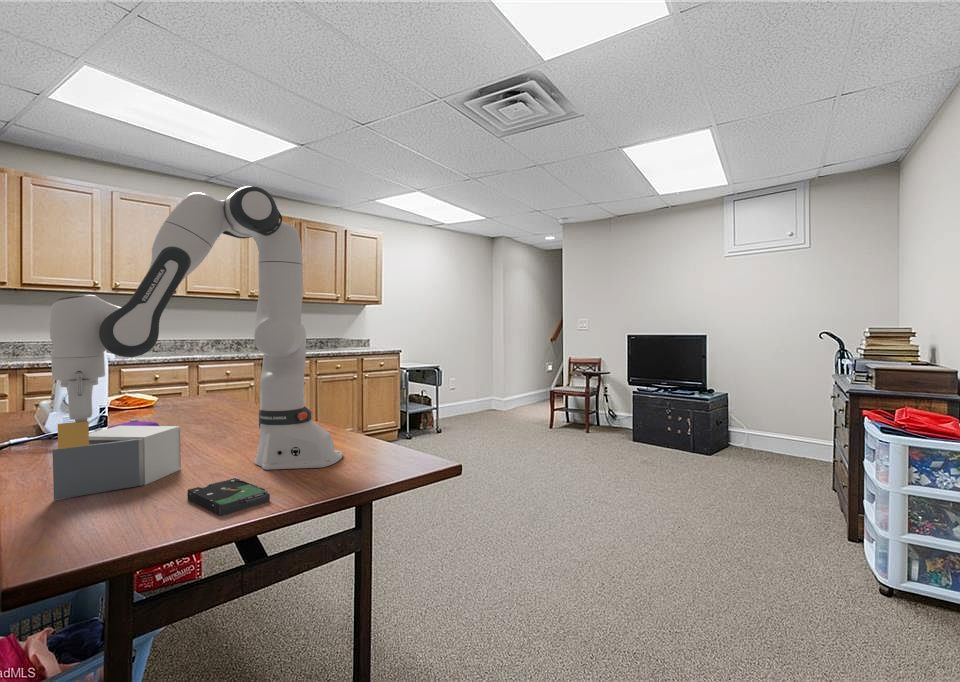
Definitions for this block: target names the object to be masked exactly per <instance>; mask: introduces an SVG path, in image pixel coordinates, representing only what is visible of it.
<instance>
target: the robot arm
mask: <svg viewBox="0 0 960 682" xmlns="http://www.w3.org/2000/svg"><path fill="white" fill-rule="evenodd" d="M222 234H223V235H226V236H230V237H234V238H237V239H250V238H252V239H253V240H254V242H255V243H256V247H257V251H258V261H257V262H258V265H257V266H258V299H257V306H256V314H255V326H254V327H255V328H254V334H253V335H254V336H253V337H254V338H253V339H254V344H255V346H256V347H257V349H258V350H259V351H260V352H261V353H263V357H262V359H263V360H262V368H261V375H260V377H259V378H260V379H259V383H260V384H259V389H260V390H259V392H260V393H259V394H260V397H259V398H260V408H259V409H258V428H259V437H258V438H259V440H258V446H257V452H256V456H255V459H254V464H255V465H257V466H259V467H261V468H262V470H285V469H286V470H287V469H288V470H289V469H293V470H294V469H313V468H314V469H315V468H326V467H328V466H332V465H334V464H336V463H337V462H339V461H340V460H341V459H342V458H343V451H341V450H339V449H338V450H337V449H335V443H334V439H333V436H332V434H331V433H330V432H329V431H327V430H325V428H323V427H321V426H320V425H318V423H316V422H314V421H313V420H312V414H314V409H309V408H308V407H307V406H305V370H306V356H307V355H306V354H307V351H306V350H307V331H306V328H305V327H304V325H303V323H302V308H303V297H304V268H303V267H304V263H303V249H302V243H301V238H300V232H298V229H297V228H296V227H295V226H293V225H291V224H290V223H287V222H283V216H282V215H281V212H280V211H279V208H278V205H277V203H276V201H275V200H274V198H273V196H272V195H271V194H270V193H269V192H268V191H267V190H265V189H264V188H262V187H259V186H255V185H247V186H242V187H240V188H238V189H236V190H235V191H233V192H232V193H231V194H230V195H228V196H227V198H226V199H224V200H221V199H220V200H219V199H216V198H214V197H213V196H211V195H209V194H207V193H202V192H192V193H189V194H187V196H185V197H184V198H183V199H182V200H181V201H180V202H179V203H178V204H177V205H176V206H175V207H174V209H172V211H171V212H170V213H169V215H168V216H167V218H166V219H165V221H164V222H163V223H162V225H161V226H160V229H159V230H158V232H157V234H156V236H155V239H154V241H153V244H152V247H151V261H150V265H149V268H148V270H147V272H146V274H145V275H144V277H143V278H142V280H141V282H140V283H139V285H138V287H137V288H136V290H135V291H134V293H133V294H132V296H131V298H130V299H129V300H128V301H127V302H126V303H125V304H124V305H123V306H118V305H115V304H113V303H111V302H108V301H105V300H104V299H102V298H100V297H98V296H97V295H96V294H89V293H88V294H78V295H69V296H64V297H61V298H59V299H57V300H55V301H54V303H52V305H51V307H50V313H49V336H50V340H51V343H52V351H51V355H50V359H51V361H50V362H51V379H52V380H53V381H59V383H60V388H66V392H67V396H68V397H67V398H68V399H67V401H68V402H67V403H68V417H69V419H70V420H74V422H83V421H88V419H89V418H91V417H93V398H92V397H93V391H94V390H93V389H94V388H93V387H94V386H96V385H99V378H104V377H105V376H106V369H105V365H106V364H105V353H106V351H108V352H110V353H111V354H114V355H116V356H118V357H122V358H134V357H135V358H136V357H139V356H143V355H145V354H147V353H149V352H150V351H151V350H152V349H153V348H154V347H155V345H156V343H157V342H158V339H159V336H160V335H159V333H160V331H159V330H160V320H161V316H162V314H163V313H164V310H165V309H166V307H167V306H168V304H169V302H170V300H171V299H172V298H173V296H174V294H175V292H176V291H177V289H178V287H179V285H180V284H181V283H182V282H183V281H184V279H186V278H187V277H188V276H189V275H190V274H191V273H192V272H194V271H195V270H196V269H197V268H198V267H199V266H200V264H201V263H202V262H203V261H204V260H205V259H206V257H208V255H209V253H210V251H211V249H212V248H213V247H214V245H215V243H216V241H217V240H218V239H219V237H220V236H221V235H222Z"/></svg>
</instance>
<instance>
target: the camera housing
mask: <svg viewBox="0 0 960 682" xmlns="http://www.w3.org/2000/svg"><path fill="white" fill-rule="evenodd" d="M107 428H108V427H107ZM107 428H103V429H101V430H97V431H93V432H89V445H92V444H101V443H109V442H118V441H126V440H134V439H143V476H144V485H143V486H147V485H149V484H151V483H153V482H155V481H158V480H160V479H162V478H164V477H167V476H169V475H171V474H174V473H177V472H179V471H180V470H182V468H181V467H182V466H181V465H182V463H181V461H182V458H181V426H179V425H177V426H175V425H174V426H173V425H169V426H168V425H159V426H116V427H112V428H108V429H107Z"/></svg>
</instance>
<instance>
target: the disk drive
mask: <svg viewBox="0 0 960 682" xmlns="http://www.w3.org/2000/svg"><path fill="white" fill-rule="evenodd" d="M270 494H271V493H269V492H268V490H266V489H265V488H263V487H259V486H258V485H255V484H252V483H249V482H247V481H245V480H242V479H239V478H234V477H233V478H229V479H226V480H223V481H218V482H213V483H209V484H208V485H207V486H205V487H200V486H197V487H194V488H189V489H187V494H186V495H187V501H189V502H190V503H193V504H194V505H197V506H199V507H201V508H203V509H205V510H206V511H209V512H211V513H212V514H214V515H216V516H219V517H223V516H226V515H230V514H233V513H236V512H239V511H242V510H246V509H248V508H249V509H250V508H252V507H256V506H259V505H262V504H266V503H269V502H270V501H271V495H270Z"/></svg>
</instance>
